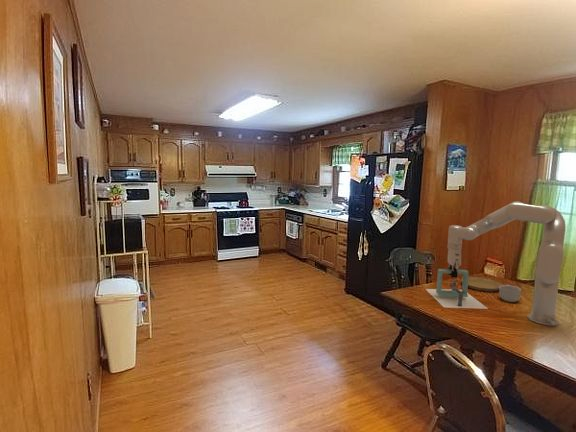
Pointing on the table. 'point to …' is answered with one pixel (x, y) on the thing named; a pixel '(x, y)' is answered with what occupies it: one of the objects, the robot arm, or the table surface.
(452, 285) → the dark hinged linkage
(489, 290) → the plant saucer
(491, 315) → the table surface
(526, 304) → the table surface
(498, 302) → the table surface
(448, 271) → the teal rectangular frame
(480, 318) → the table surface
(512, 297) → the teacup
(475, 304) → the base board
